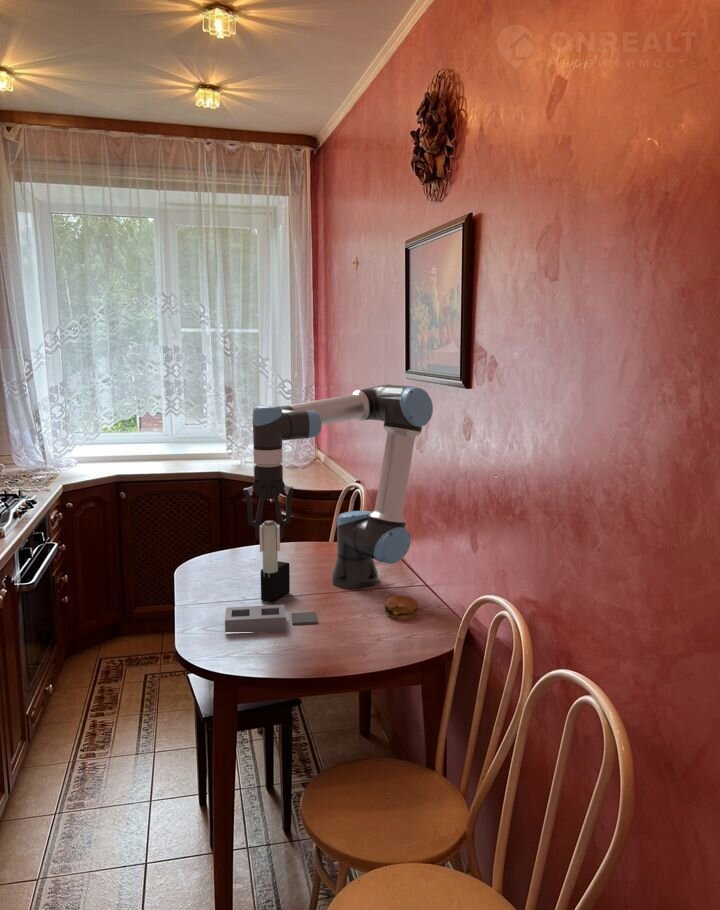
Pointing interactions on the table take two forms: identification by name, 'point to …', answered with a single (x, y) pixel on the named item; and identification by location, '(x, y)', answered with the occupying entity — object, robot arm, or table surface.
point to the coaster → (304, 618)
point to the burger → (401, 607)
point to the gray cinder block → (255, 619)
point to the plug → (270, 547)
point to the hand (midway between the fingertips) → (269, 549)
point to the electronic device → (275, 583)
